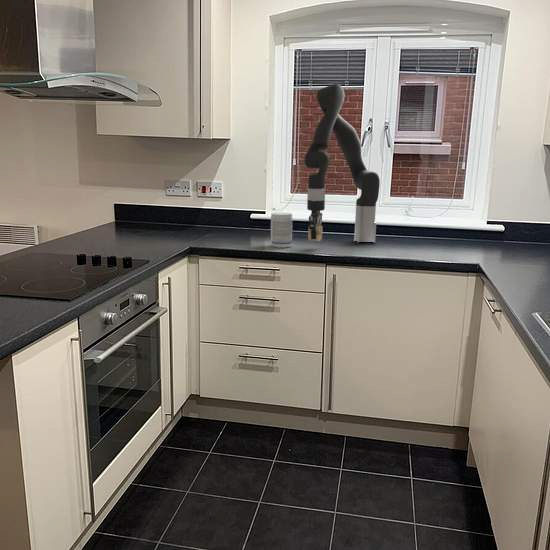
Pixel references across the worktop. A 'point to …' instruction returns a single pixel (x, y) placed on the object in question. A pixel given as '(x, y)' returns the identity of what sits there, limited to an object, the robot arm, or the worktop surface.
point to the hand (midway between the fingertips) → (315, 237)
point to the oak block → (318, 234)
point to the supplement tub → (281, 230)
